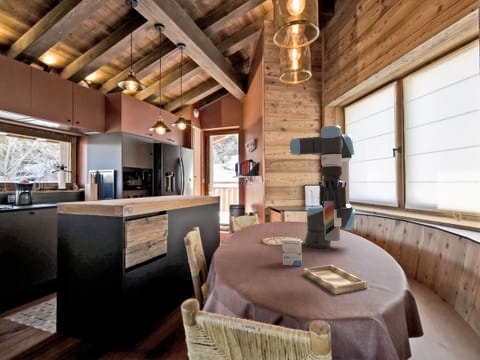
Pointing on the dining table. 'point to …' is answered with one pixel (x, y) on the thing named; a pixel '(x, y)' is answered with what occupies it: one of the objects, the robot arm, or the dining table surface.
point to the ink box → (291, 252)
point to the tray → (335, 279)
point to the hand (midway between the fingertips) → (332, 224)
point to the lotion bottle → (330, 219)
